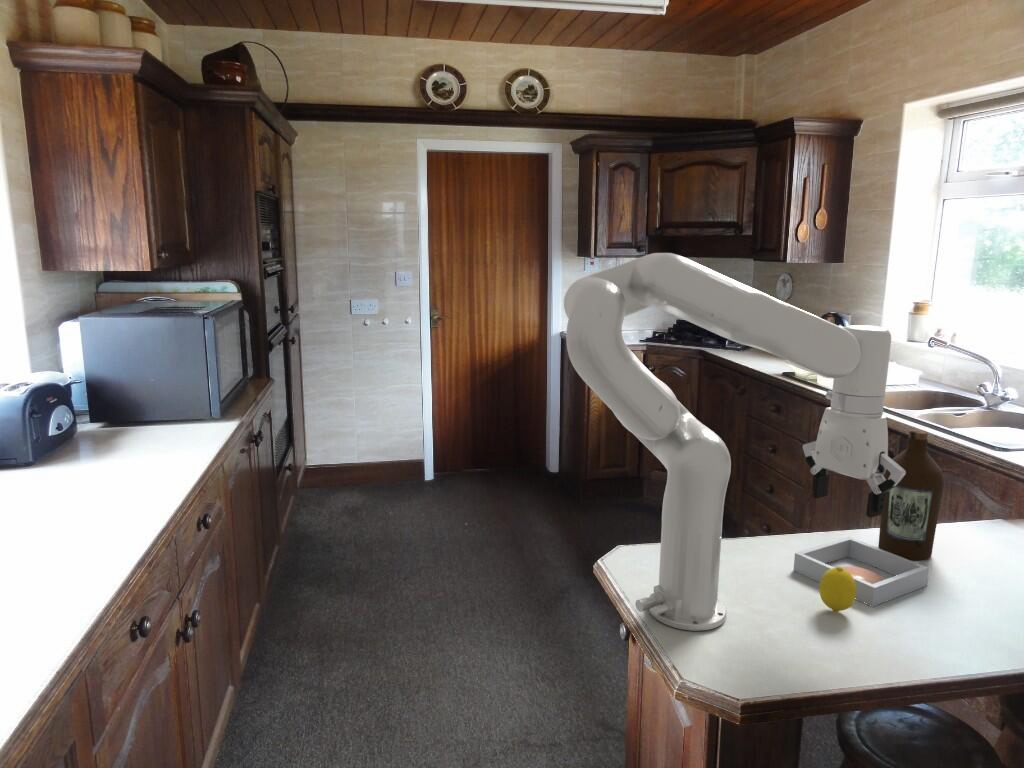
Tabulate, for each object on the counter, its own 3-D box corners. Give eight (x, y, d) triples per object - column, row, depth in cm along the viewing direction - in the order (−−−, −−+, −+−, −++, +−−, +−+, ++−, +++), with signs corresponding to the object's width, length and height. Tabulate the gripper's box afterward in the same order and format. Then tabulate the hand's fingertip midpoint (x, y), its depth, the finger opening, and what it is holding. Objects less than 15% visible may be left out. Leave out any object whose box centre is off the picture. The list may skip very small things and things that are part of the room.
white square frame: (872, 607, 119) (874, 587, 119) (793, 570, 133) (795, 552, 132) (926, 585, 127) (929, 567, 127) (847, 553, 141) (848, 536, 140)
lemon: (859, 620, 115) (864, 575, 113) (825, 620, 115) (830, 574, 114) (844, 604, 120) (849, 560, 119) (812, 603, 120) (816, 559, 119)
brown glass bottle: (878, 536, 149) (890, 422, 145) (936, 548, 144) (951, 429, 139) (871, 554, 140) (885, 433, 136) (933, 567, 135) (949, 441, 130)
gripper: (795, 396, 117) (786, 494, 120) (896, 417, 103) (882, 528, 106) (823, 392, 121) (814, 487, 124) (925, 412, 106) (911, 519, 110)
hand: (845, 506), depth 115 cm, fingers open, 9 cm apart
